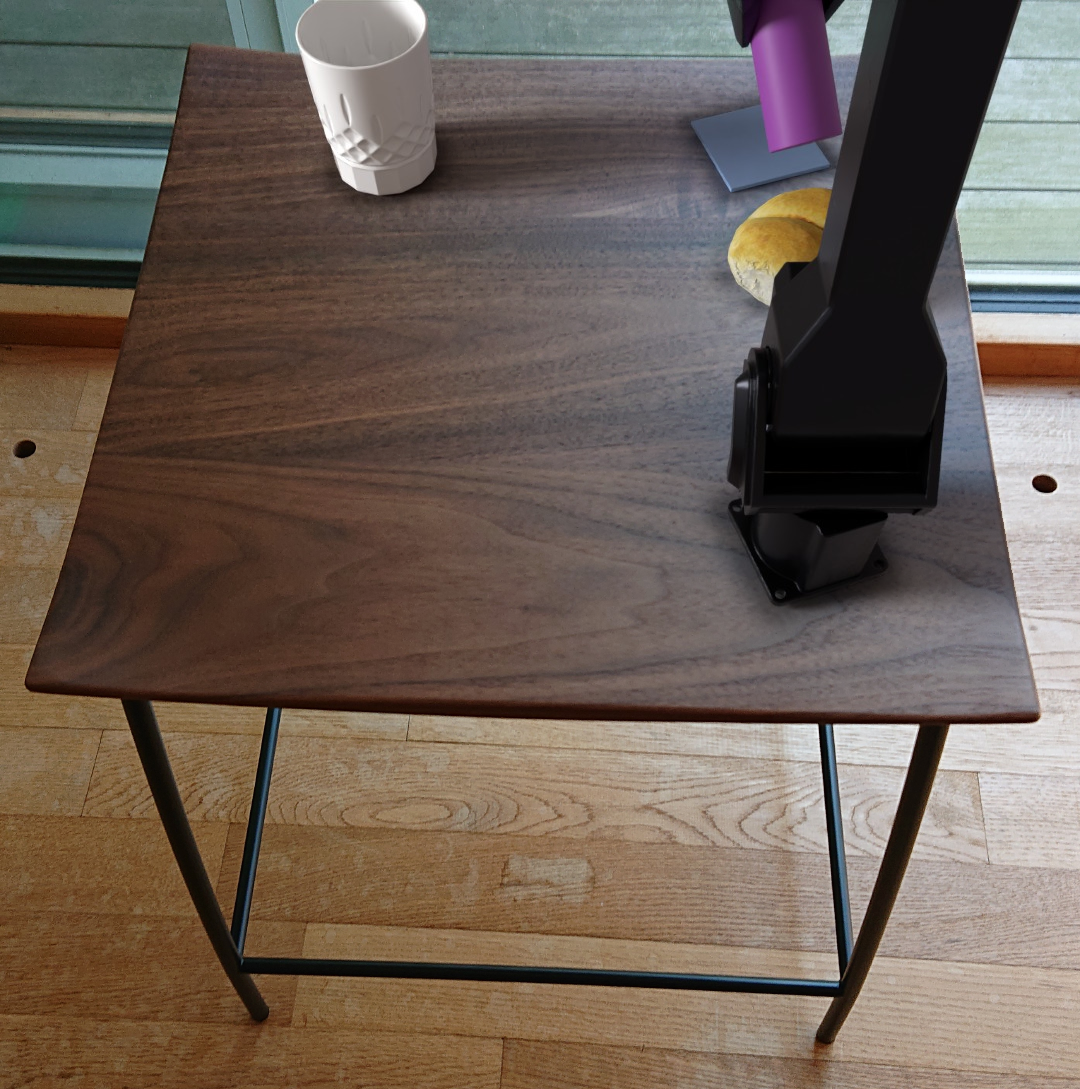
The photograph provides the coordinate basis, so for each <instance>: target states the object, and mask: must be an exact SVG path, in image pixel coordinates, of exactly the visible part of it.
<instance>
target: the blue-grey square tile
mask: <svg viewBox="0 0 1080 1089" xmlns="http://www.w3.org/2000/svg"><path fill="white" fill-rule="evenodd" d="M690 126H691V127H692V129H693V131H694V132H695V134H696V136H697V138H698V139H699V141H700V143H701V144H702V146H703V147H704V150H705V151H706V153H707V155H708V156H709V158H710V160H711V161H712V163H713V165H714V167H715V169H716V170H717V172H718V173H719V174H720V177H721V178H722V180H723V182H724V184H725V185H726V187H727V188H728V190H729V192H730V193H735V192H739V191H743V190H746V189H751V188H754V187H758V186H763V185H765V184H770V183H774V182H778V181H782V180H785V179H790V178H793V177H796V176H802V175H805V174H808V173H813V172H817V171H820V170H824V169H829V168H830V166H831V163H830V161H829V160H828V159H827V157H826V156H825V154H824V153H823V151H822V150H821V148H820V147H819V145H818V144H817V142H814V143H810V144H807V145H803V146H799V147H795V148H791V149H787V150H783V151H779V152H774V153H770V152H769V147H768V142H767V136H766V130H765V124H764V119H763V113H762V107H761V103H759V104H757V105H752V106H748V107H744V108H740V109H736V110H731V111H728V112H725V113H720V114H716V115H712V116H707V117H704V118H700V119H695V120H691V121H690Z"/></svg>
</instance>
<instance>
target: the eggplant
mask: <svg viewBox="0 0 1080 1089" xmlns="http://www.w3.org/2000/svg"><path fill="white" fill-rule="evenodd" d="M826 24H827V23H826ZM826 24H825V17H824V11H823V5H822V0H762V2H761V7H760V11H759V15H758V19H757V23H756V28H755V31H754V34H753V36H752V39H751V41H750V44H749V46H750V51H751V54H752V62H753V67H754V72H755V78H756V84H757V90H758V94H759V101H760V104H761V107H762V113H763V119H764V124H765V130H766V136H767V142H768V147H769V152H770V153H774V152H779V151H783V150H787V149H791V148H795V147H799V146H803V145H807V144H810V143H814V142H816V143H817V142H822V141H824V140H829V139H833V138H836V137H840V136H842V135H843V134H844V131H843V125H842V119H841V113H840V107H839V101H838V95H837V88H836V81H835V75H834V68H833V63H832V56H831V49H830V43H829V37H828V31H827V30H828V29H827V25H826Z"/></svg>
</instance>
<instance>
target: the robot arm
mask: <svg viewBox="0 0 1080 1089" xmlns="http://www.w3.org/2000/svg"><path fill="white" fill-rule="evenodd" d="M845 1H846V0H822V5H823V11H824V17H825V24H827V23H828V22H829V21H830V19H831V18H832V17H833V15H835V14H836V11H838V9H839V8H840V7H841V6H842V4H844V2H845ZM761 2H762V0H726V3H727V8H728V11H729V15H730V16H729V17H730V20H731V24H732V29H733V33H734V37H735V40H736V42H737V43H738V45H739V46H740V48H741V49H745V48H749V46H750V41H751V39H752V36H753V34H754V31H755V28H756V23H757V19H758V15H759V11H760V7H761ZM1022 2H1023V0H871V4H870V8H869V13H868V18H867V23H866V27H865V31H864V36H863V40H862V45H861V51H860V55H859V60H858V65H857V69H856V75H855V78H854V84H853V89H852V93H851V98H850V102H849V108H848V112H847V117H846V122H845V127H844V131H843V134H842V135H843V136H842V141H841V145H840V150H839V155H838V159H837V164H836V169H835V174H834V179H833V183H832V187H831V189H832V192H831V197H830V201H829V206H828V211H827V215H826V220H825V225H824V230H823V234H822V239H821V244H820V248H819V252H818V255H817V257H816V258H815V259H814V260H812V261H811V262H786V263H785V264H784V265H783V266H782V268H781V269H780V270H779V272H778V273H777V274H776V276H775V278H774V283H773V290H772V298H771V303H770V306H768V307H769V308H768V311H767V315H766V320H765V324H764V327H763V328H764V329H763V333H762V337H761V341H760V347H758V346H757V347H750V349H749V350H748V353H747V358H744V359H743V366H742V372H741V373H740V375H738V376H737V378H736V379H735V380H734V383H733V384H734V386H733V400H732V401H733V402H732V418H731V419H732V420H731V433H730V448H729V456H728V461H727V465H726V470H725V471H726V481H727V482H728V483H729V484H730V485H731V486H733V487H734V488H736V489H737V490H738V493H740V497H738V498H736V499H733V500H731V501H729V503H728V506H727V510H726V512H727V515H728V518H729V519H730V521H731V524H732V526H733V527H734V530H735V532H736V534H737V537H738V538H739V540H740V542H741V544H742V546H743V549H744V550H745V552H746V554H747V556H748V559H749V561H750V563H751V565H752V567H753V570H754V571H755V573H756V576H757V578H758V579H759V580H758V581H759V582H760V584H761V586H762V588H763V590H764V592H765V594H766V596H767V598H768V600H769V602H770V603H771V604H772V605H773V606H775V607H785V606H788V605H792V604H794V603H797V602H800V601H804V600H807V599H810V598H813V597H817V596H820V595H823V594H826V593H829V592H833V591H836V590H839V589H842V588H845V587H850V586H852V585H855V584H859V583H862V582H865V581H868V580H871V579H875V578H878V577H882V576H883V575H885V574H886V573H887V570H888V568H889V562H888V560H887V558H886V556H885V554H884V553H883V550H882V548H881V547H880V545H879V544H878V539H879V537H880V535H881V532H882V531H883V529H884V527H885V525H886V523H887V520H888V519H889V514H893V515H894V514H896V515H897V514H899V515H900V514H901V515H902V514H904V515H906V514H907V515H909V514H911V515H912V516H925V515H927V514H928V513H930V512H932V511H933V510H935V509H936V508H937V505H938V500H939V488H940V477H941V475H940V474H941V464H942V454H943V442H944V430H945V420H946V408H947V396H948V395H947V394H948V380H949V378H948V360H947V355H946V352H945V350H944V347H943V344H942V339H941V337H940V333H939V329H938V325H937V324H936V319H935V316H934V313H933V310H932V306H931V303H930V299H929V293H930V291H931V288H932V284H933V281H934V278H935V275H936V273H937V272H936V271H937V269H938V265H939V262H940V260H941V257H942V253H943V250H944V247H945V244H946V241H947V237H948V234H949V231H950V228H951V225H952V221H953V219H954V215H955V212H956V210H957V207H958V203H959V199H960V197H961V194H962V191H963V187H964V183H965V182H966V178H967V174H968V171H969V169H970V165H971V162H972V160H973V156H974V154H975V153H974V152H975V150H976V147H977V144H978V141H979V137H980V135H981V131H982V128H983V126H984V121H985V118H986V116H987V112H988V109H989V106H990V103H991V100H992V97H993V94H994V90H995V87H996V85H997V81H998V78H999V75H1000V72H1001V69H1002V65H1003V62H1004V59H1005V56H1006V53H1007V50H1008V47H1009V44H1010V41H1011V38H1012V34H1013V32H1014V28H1015V24H1016V23H1017V22H1016V21H1017V18H1018V15H1019V13H1020V9H1021V6H1022ZM734 508H737V509H739V511H736V510H735V509H734ZM875 564H877V565H879V566H880V567H876V566H875ZM777 594H780V595H781V596H782V597H781V598H779V597H777V596H776V595H777Z"/></svg>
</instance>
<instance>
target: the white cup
mask: <svg viewBox="0 0 1080 1089" xmlns="http://www.w3.org/2000/svg"><path fill="white" fill-rule="evenodd" d="M295 27H296V28H295V41H296V44H297V48H298V50H299V53H300V57H301V60H302V64H303V67H304V70H305V74H306V77H307V80H308V83H309V87H310V90H311V95H312V97H313V101H314V104H315V106H316V109H317V112H318V115H319V120H320V123H321V125H322V128H323V130H324V136H325V137H326V140H327V142H328V144H329V145H330V148H331V152H332V154H333V159H334V162H335V166H336V168H337V170H338V173H339V175H340V178H341V180H342V181H343V182H345V183H346V184H347V185H349V186H350V187H351V188H353V189H355V190H356V191H357V192H359V193H365V194H370V195H374V196H387V195H395V194H401V193H405V192H407V191H409V190H411V189H413V188H415V187H417V186H419V185H421V184H423V182H424V181H425V180H426V179H427V178H428V177H429V176H430V174H431V173H433V171H434V170H435V165H436V161H437V155H438V149H437V138H436V109H435V94H434V93H435V92H434V91H435V90H434V89H435V88H434V77H433V65H432V55H431V54H432V53H431V45H430V44H431V42H430V30H429V19H428V15H427V12H426V10H425V8H424V7H423V5H422V4H421V3H420V2H419V1H418V0H316V1H315V2H314V3H312V4H311V5H310V6H309V7H307V9H305V11H304V12H303V13H302V14H301V15H300V17H299V19H298V21H297V24H296V26H295Z"/></svg>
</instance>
